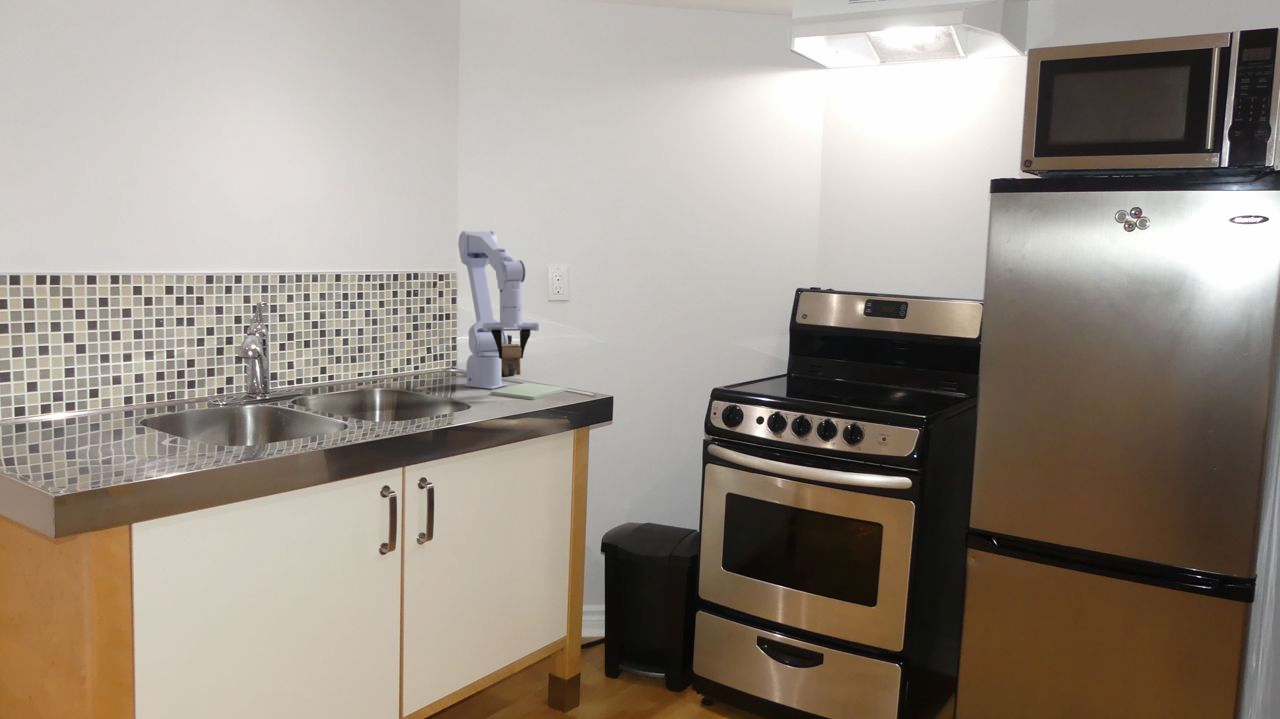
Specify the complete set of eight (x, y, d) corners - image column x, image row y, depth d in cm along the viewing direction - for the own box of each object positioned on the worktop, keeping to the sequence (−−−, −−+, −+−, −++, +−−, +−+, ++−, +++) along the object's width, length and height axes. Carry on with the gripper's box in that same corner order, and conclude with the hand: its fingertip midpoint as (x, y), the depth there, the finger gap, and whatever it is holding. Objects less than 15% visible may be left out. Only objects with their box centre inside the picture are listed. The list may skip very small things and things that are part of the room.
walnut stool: (500, 369, 261) (500, 344, 260) (518, 369, 262) (518, 344, 261) (503, 375, 252) (502, 348, 251) (521, 375, 253) (521, 348, 252)
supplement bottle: (517, 373, 294) (517, 334, 293) (512, 377, 288) (512, 337, 286) (495, 372, 295) (495, 333, 293) (490, 376, 288) (489, 336, 287)
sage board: (490, 394, 260) (490, 391, 260) (525, 385, 274) (525, 382, 274) (533, 399, 253) (533, 396, 253) (566, 390, 267) (566, 387, 267)
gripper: (483, 308, 249) (484, 360, 251) (539, 308, 252) (539, 359, 254) (482, 305, 256) (482, 356, 258) (537, 305, 259) (537, 355, 261)
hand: (510, 357), depth 256 cm, fingers closed on walnut stool, 5 cm apart
